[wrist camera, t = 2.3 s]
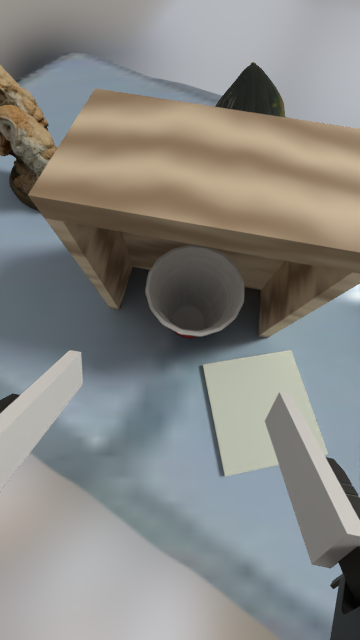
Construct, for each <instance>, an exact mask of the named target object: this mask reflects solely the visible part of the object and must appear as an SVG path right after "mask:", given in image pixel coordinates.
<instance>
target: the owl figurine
mask: <svg viewBox="0 0 360 640" xmlns="http://www.w3.org/2000/svg"><path fill="white" fill-rule="evenodd" d="M47 126H48V122H47V120H46V119H45V118H44V117H43V113H42V111H41V110H40V109H39V108H38V105H37V103H36V101H35V99H34V98H33V96H32V95H31V94H30V93H29V92H28V91H27V90H26V89H24V88H21V87H20V86H19V85H18V83H17V82H16V81H15V80H13V78H12V77H11V76H10V75H9V74H8V73H7V72H6V71H5V70H4V68H3V67H2V66H1V65H0V155H1V156H5V155H9V154H10V155H12V156H14V157H15V158H16V159H17V160H16V161H14V166H13V168H12V171H11V175H10V178H9V179H10V186H11V189H12V190H13V192H14V193H15V195H16V196H17V197H18V198H19V199H20V200H21V201H22V202H23V203H25V204H26V205H28V206H29V207H31V208H34V209H36V210H38V208H37V207H36V206H35V204H34V203H33V202H32V200H31V199H30V197H29V196H28V194H29V192H30V191H31V189H32V188H33V186H34V185H35V183H36V181H37V180H38V178H39V177H40V175H41V174H42V172H43V170H44V169H45V167H46V166H47V164H48V163H49V161H50V159H51V158H52V156H53V155H54V153H55V151H56V150H57V147H56V146H55V144H54V142H53V139H52V137H51V135H50V134H49V132H48V128H47Z"/></svg>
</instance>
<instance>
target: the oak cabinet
mask: <svg viewBox="0 0 360 640" xmlns="http://www.w3.org/2000/svg"><path fill="white" fill-rule="evenodd" d="M28 196H29V197H30V199H31V200H32V202H33V203H34V204H35V206H36V207H37V208H38V210H39V211H40V213H41V214H42V215H43V217H44V218H45V219H46V221H47V222H48V223H49V225H50V226H51V228H52V229H53V230H54V232H55V233H56V234H57V236H58V237H59V239H60V240H61V241H62V243H63V244H64V245H65V247H66V248H67V250H68V251H69V252H70V254H71V255H72V256H73V258H74V259H75V260H76V262H77V263H78V265H79V266H80V267H81V269H82V270H83V271H84V273H85V274H86V276H87V277H88V278H89V280H90V281H91V282H92V284H93V285H94V286H95V288H96V289H97V291H98V292H99V293H100V295H101V296H102V297H103V299H104V300H105V302H106V303H107V304H108V306H109V307H110V308H113V309H118V310H119V308H120V305H121V302H122V299H123V296H124V293H125V290H126V286H127V283H128V280H129V277H130V274H131V271H132V268H133V267H137V268H142V269H148V270H151V269H152V267H153V266H154V264H155V262H156V261H157V259H158V258H160V257H161V256H163V255H164V254H166V253H167V252H169V251H170V250H172V249H174V248H178V247H182V246H186V245H199V246H205V247H211V248H213V249H215V250H217V251H220V252H222V253H224V254H225V255H226V256H227V257H228V258H229V259H230V260H231V261H232V262H233V263H234V264H235V265H236V266H237V267H238V269H239V271H240V274H241V276H242V278H243V281H244V283H245V287H247V288H252V289H258V290H261V295H260V314H259V332H258V336H261V337H266V338H268V337H270V336H272V335H273V334H275V333H277V332H278V331H280V330H282V329H283V328H285V327H287V326H288V325H290V324H292V323H294V322H295V321H297V320H299V319H300V318H302V317H304V316H305V315H307V314H309V313H310V312H312V311H314V310H316V309H317V308H319V307H321V306H322V305H324V304H326V303H327V302H329V301H331V300H333V299H334V298H336V297H338V296H339V295H341V294H343V293H344V292H346V291H348V290H349V289H351V288H353V287H355V286H356V285H358V284H360V129H357V128H351V127H344V126H337V125H331V124H324V123H318V122H311V121H304V120H298V119H292V118H285V117H279V116H272V115H265V114H259V113H252V112H246V111H239V110H233V109H226V108H219V107H213V106H206V105H200V104H193V103H187V102H180V101H174V100H167V99H160V98H154V97H147V96H141V95H134V94H128V93H121V92H115V91H108V90H101V89H95V90H94V92H93V93H92V95H91V96H90V98H89V99H88V101H87V103H86V104H85V106H84V107H83V109H82V110H81V112H80V114H79V115H78V117H77V118H76V120H75V121H74V123H73V125H72V126H71V128H70V129H69V131H68V133H67V134H66V136H65V137H64V139H63V140H62V142H61V144H60V145H59V147H58V148H57V150H56V151H55V153H54V155H53V156H52V158H51V159H50V161H49V163H48V164H47V166H46V167H45V169H44V170H43V172H42V174H41V175H40V177H39V178H38V180H37V181H36V183H35V185H34V186H33V188H32V189H31V191H30V192H29V194H28Z"/></svg>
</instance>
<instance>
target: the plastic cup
mask: <svg viewBox="0 0 360 640" xmlns="http://www.w3.org/2000/svg"><path fill="white" fill-rule="evenodd" d="M244 288H245V283H244V281H243V278H242V276H241V274H240V271H239V269H238V267H237V266H236V265H235V264H234V263H233V262H232V261H231V260H230V259H229V258H228V257H227V256H226V255H225V254H224V253H222V252H220V251H217V250H215V249H213V248H211V247H205V246H199V245H186V246H182V247H178V248H174V249H172V250H170V251H169V252H167V253H166V254H164V255H163V256H161V257H160V258H158V259H157V261H156V262H155V264H154V266H153V267H152V269H151V270H150V272H149V273H148V277H147V283H146V290H145V293H146V296H147V300H148V304H149V307H150V310H151V311H152V312H153V314H154V315H155V316H156V317H157V318H158V320H159V321H160V322H161V323H162V325H164V326H166V327H168V328H170V329H172V330H173V331H174V332H175V333H176V334H177V335H179V336H181V337H183V338H194V337H197V336H204V335H208V334H211V333H215V332H218V331H221V330H222V329H224V328H225V327H226V326H227V325H228V324H230V323H231V322H232V321H233V320H234V319H236V317H237V315H238V313H239V311H240V309H241V307H242V305H243V303H244Z"/></svg>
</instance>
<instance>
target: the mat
mask: <svg viewBox="0 0 360 640" xmlns="http://www.w3.org/2000/svg"><path fill="white" fill-rule="evenodd" d="M203 370H204V375H205V380H206V385H207V390H208V396H209V401H210V406H211V411H212V416H213V421H214V426H215V431H216V436H217V441H218V446H219V451H220V456H221V461H222V466H223V471H224V475H225V476H229V475H234V474H239V473H243V472H248V471H253V470H257V469H262V468H266V467H271V466H276V465H279V463H278V460H277V457H276V454H275V451H274V448H273V445H272V442H271V439H270V436H269V433H268V430H267V427H266V423H265V419H266V417H267V415H268V413H269V411H270V409H271V407H272V405H273V403H274V401H275V399H276V397H277V395H278V393H279V392H283V393H288V394H291V395H292V397H293V399H294V400H295V402H296V404H297V406H298V408H299V410H300V411H301V413H302V415H303V417H304V419H305V421H306V422H307V424H308V426H309V428H310V430H311V432H312V433H313V435H314V437H315V439H316V441H317V443H318V445H319V446H320V448H321V450H322V452H323V454H324V455H327V454H328V453H327V450H326V447H325V444H324V441H323V438H322V436H321V433H320V430H319V427H318V424H317V421H316V419H315V416H314V413H313V410H312V407H311V405H310V402H309V399H308V396H307V393H306V390H305V388H304V385H303V382H302V379H301V376H300V374H299V371H298V368H297V365H296V362H295V359H294V357H293V354H292V351H291V350H289V351H282V352H276V353H270V354H264V355H258V356H252V357H246V358H240V359H233V360H227V361H221V362H215V363H209V364H203Z"/></svg>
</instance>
